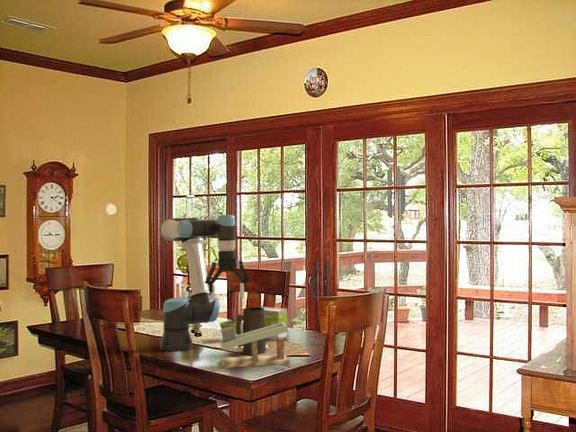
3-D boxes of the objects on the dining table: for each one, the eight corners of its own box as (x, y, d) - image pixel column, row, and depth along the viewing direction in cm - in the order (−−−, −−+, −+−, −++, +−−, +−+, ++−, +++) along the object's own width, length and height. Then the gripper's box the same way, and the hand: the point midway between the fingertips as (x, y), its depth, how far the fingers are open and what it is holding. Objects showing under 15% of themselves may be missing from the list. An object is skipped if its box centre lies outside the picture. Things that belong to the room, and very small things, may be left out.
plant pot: (235, 342, 302) (235, 324, 302) (217, 341, 304) (216, 324, 304) (240, 338, 312) (240, 321, 312) (222, 337, 313) (222, 320, 313)
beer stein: (254, 347, 289) (252, 305, 288) (272, 350, 282) (269, 307, 281) (231, 355, 277) (229, 311, 276) (249, 359, 270) (246, 313, 269)
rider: (224, 345, 254) (221, 331, 254) (223, 343, 259) (220, 329, 259) (236, 342, 255) (233, 328, 255) (235, 339, 260) (232, 326, 260)
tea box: (252, 338, 312) (252, 308, 312) (262, 334, 321) (261, 306, 321) (278, 340, 305) (278, 310, 305) (287, 336, 314) (287, 307, 314)
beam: (222, 350, 252) (221, 343, 252) (221, 346, 260) (219, 339, 260) (287, 331, 258) (286, 325, 257) (284, 328, 265) (282, 322, 265)
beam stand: (222, 367, 251) (222, 344, 251) (220, 361, 262) (219, 339, 262) (289, 363, 256) (289, 340, 256) (285, 357, 267) (284, 335, 267)
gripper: (202, 251, 259) (203, 302, 259) (256, 249, 271) (257, 297, 271) (196, 251, 266) (197, 300, 266) (249, 249, 277) (250, 296, 277)
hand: (227, 299), depth 268 cm, fingers open, 13 cm apart
